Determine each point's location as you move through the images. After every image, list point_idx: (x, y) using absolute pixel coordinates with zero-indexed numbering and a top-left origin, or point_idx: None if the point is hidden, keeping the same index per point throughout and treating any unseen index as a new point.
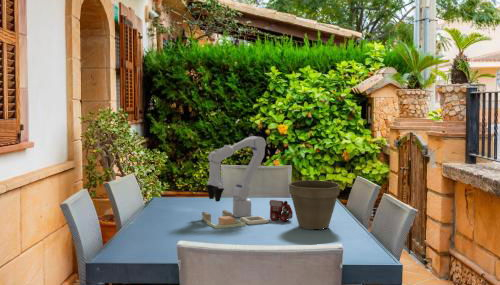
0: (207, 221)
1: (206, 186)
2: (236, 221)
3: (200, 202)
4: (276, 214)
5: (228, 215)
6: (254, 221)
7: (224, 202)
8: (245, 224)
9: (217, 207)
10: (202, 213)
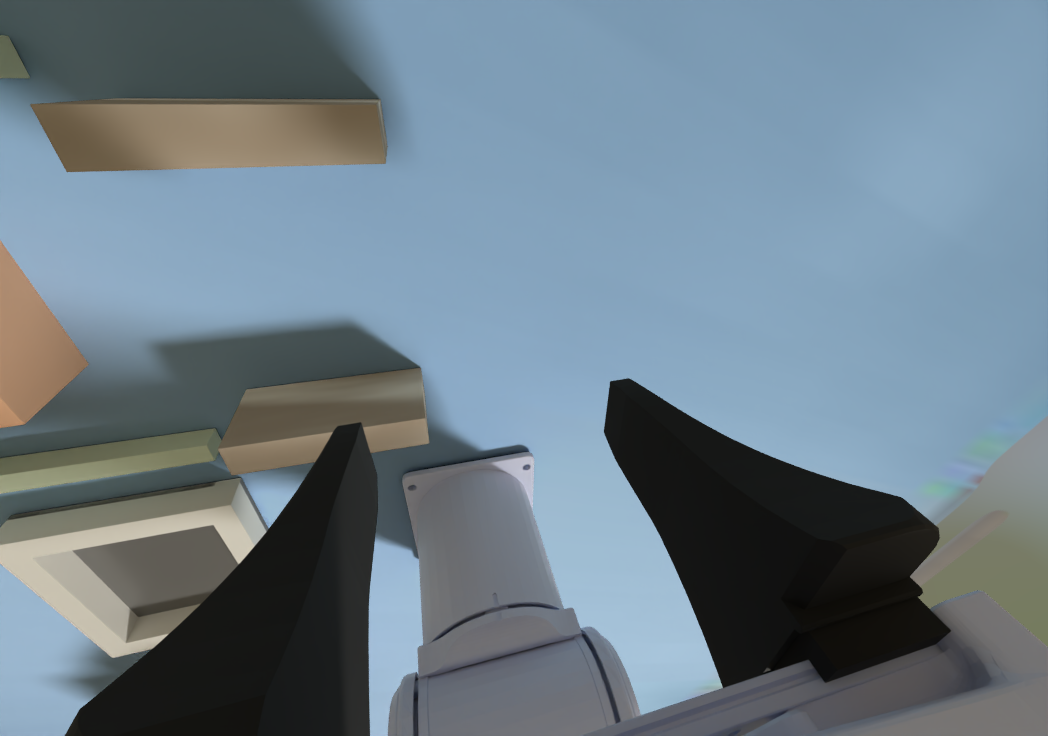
0: (139, 98)
1: (857, 535)
2: (142, 446)
3: (1001, 358)
4: None
5: (243, 426)
6: (28, 579)
7: (871, 483)
8: None
9: (800, 422)
10: (362, 104)
